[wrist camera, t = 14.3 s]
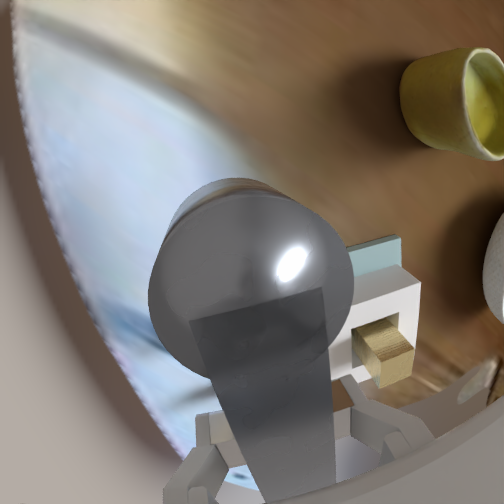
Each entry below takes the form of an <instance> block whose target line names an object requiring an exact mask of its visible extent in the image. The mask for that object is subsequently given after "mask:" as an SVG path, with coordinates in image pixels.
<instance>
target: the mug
mask: <svg viewBox="0 0 504 504" xmlns="http://www.w3.org/2000/svg"><path fill="white" fill-rule="evenodd" d="M399 92H400V106H401V110H402V113H403V116H404V119H405V122H406V124H407V126H408V129H409V130H410V131H411V133H412V134H413V135H414V136H415V137H416V138H418V139H419V140H420V141H422V142H423V143H424V144H426V145H428V146H430V147H433V148H436V149H443V150H451V151H456V152H460V153H463V154H466V155H469V156H472V157H476V158H479V159H483V160H489V161H498V160H501V159H503V158H504V64H503V62H502V61H501V59H500V58H499V57H498V56H497V54H495V53H494V52H492V51H491V50H490V49H487V48H481V47H476V48H457V49H454V50H449V51H445V52H441V53H437V54H434V55H430V56H426V57H422V58H420V59H418V60H416V61H414V62H413V63H411V64H410V65H409V66H408V67H407V68H406V69H405V71H404V73H403V75H402V78H401V82H400V85H399Z"/></svg>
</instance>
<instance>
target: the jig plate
mask: <svg viewBox="0 0 504 504" xmlns="http://www.w3.org/2000/svg"><path fill="white" fill-rule="evenodd" d="M346 249H347V251H348V253H349V256H350V259H351V262H352V266H353V273H354V294H353V301H352V305H351V309H350V312H349V315H348V317H347V320H346V322H345V324H344V326H343V328H342V329H341V331H340V333H339V334H338V336H337V337H336V339H335V340H334V341H333V343H332V344H331V345H330V346H329V347H328V349H329V360H330V372H331V380H334V379H337V378H340V377H343V376H345V375H348V374H351V375H352V376H353V377H354V379H355V380H356V382H357V383H359V382H362V381H364V380H367V379H370V378H372V377H371V376H370V374H369V373H368V371H367V370H366V368H365V367H364V365H363V363H362V362H361V360H360V359H359V357H358V356H357V354H356V353H355V352H354V350H353V349H352V343H351V329H352V328H355V327H358V326H361V325H364V324H367V323H370V322H373V321H376V320H378V319H381V318H384V317H386V318H387V319H388V320H389V321H390V322H391V323H392V324H393V325H394V326H395V327H396V328H397V330H398V331H399V332H400V333H401V334H402V335H403V336H404V337H405V338H406V339H407V340H408V342H409V343H410V344H411V345H412V346H413V347H414V348H415V344H416V336H417V327H418V316H419V304H420V289H421V282H420V281H419V280H418V279H416V278H415V277H414V276H412V275H411V274H410V273H408V272H407V271H406V270H404V269H403V268H402V267H401V238H400V237H399V236H397V235H391V236H388V237H384V238H380V239H377V240H373V241H370V242H366V243H362V244H359V245H355V246H351V247H347V248H346ZM414 352H415V351H414ZM413 359H414V358H413Z"/></svg>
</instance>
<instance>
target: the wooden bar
mask: <svg viewBox="0 0 504 504" xmlns="http://www.w3.org/2000/svg"><path fill="white" fill-rule="evenodd" d="M351 343H352V349H353V350H354V352H355V353H356V354H357V356H358V357H359V359H360V360H361V362H362V363H363V365H364V367H365V368H366V370H367V371H368V373H369V374H370V376H371V377H372V379H373V380H374V382H375V383H376V385H377V386H378V388H379V389H380V388H383V387H385V386H388V385H390V384H392V383H395V382H397V381H399V380H402V379H404V378H406V377H408V376H411V372H412V365H413V358H414V351H415V348H414V347H413V346H412V345H411V344H410V343H409V342H408V340H407V339H406V338H405V337H404V336H403V335H402V334H401V333H400V332H399V331H398V330H397V328H396V327H395V326H394V325H393V324H392V323H391V322H390V321H389V320H388V319H387V318H386V317H384V318H381V319H378V320H376V321H373V322H370V323H367V324H364V325H361V326H358V327H355V328H352V329H351Z"/></svg>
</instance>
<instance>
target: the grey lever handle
mask: <svg viewBox="0 0 504 504" xmlns="http://www.w3.org/2000/svg"><path fill="white" fill-rule="evenodd" d="M353 294H354V273H353V266H352V262H351V259H350V256H349V253H348V251H347V249H346V247H345V244H344V242H343V241H342V239H341V238H340V236H339V235H338V233H337V232H336V231H335V230H334V229H333V228H332V227H331V225H330V224H329V223H328V222H327V221H325V220H324V219H323V218H322V217H320V216H319V215H318V214H316V213H315V212H313V211H311V210H310V209H308V208H306V207H305V206H303V205H301V204H300V203H298V202H296V201H295V200H293V199H291V198H290V197H288V196H286V195H284V194H283V193H281V192H279V191H278V190H276V189H274V188H272V187H270V186H269V185H267V184H264V183H262V182H259V181H256V180H252V179H246V178H227V179H221V180H218V181H214V182H211V183H209V184H207V185H205V186H203V187H201V188H199V189H198V190H196V191H195V192H193V193H192V194H191V195H190V196H189V197H187V198H186V200H185V201H184V202H183V203H182V204H181V205H180V207H179V208H178V209H177V211H176V212H175V214H174V216H173V218H172V220H171V223H170V225H169V228H168V230H167V233H166V235H165V238H164V240H163V243H162V245H161V248H160V250H159V253H158V256H157V258H156V261H155V264H154V266H153V270H152V273H151V277H150V281H149V289H148V306H149V312H150V318H151V321H152V324H153V327H154V329H155V331H156V333H157V335H158V337H159V339H160V341H161V342H162V344H163V345H164V347H165V348H166V349H167V351H168V352H169V353H170V354H171V355H172V356H173V357H174V358H175V359H176V360H177V361H179V362H180V363H181V364H182V365H183V366H185V367H187V368H188V369H190V370H191V371H193V372H195V373H197V374H199V375H201V376H203V377H206V378H209V379H210V380H211V382H212V385H213V387H214V390H215V392H216V395H217V397H218V400H219V402H220V405H221V407H222V409H223V412H224V414H225V416H226V419H227V421H228V423H229V426H230V428H231V430H232V433H233V435H234V437H235V439H236V442H237V444H238V446H239V448H240V450H241V453H242V455H243V457H244V459H245V461H246V463H247V466H248V468H249V470H250V472H251V474H252V476H253V478H254V480H255V482H256V484H257V486H258V488H259V490H260V492H261V494H262V496H263V498H264V500H265V502H266V503H268V502H273V501H277V500H281V499H285V498H289V497H293V496H297V495H300V494H304V493H307V492H311V491H314V490H317V489H321V488H324V487H327V486H330V485H333V484H336V465H335V464H336V463H335V436H334V416H333V400H332V385H331V372H330V360H329V349H328V347H329V346H330V345H331V344H332V343H333V341H334V340H335V339H336V337H337V336H338V334H339V333H340V331H341V329H342V328H343V326H344V324H345V322H346V320H347V317H348V315H349V312H350V309H351V305H352V301H353Z"/></svg>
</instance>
